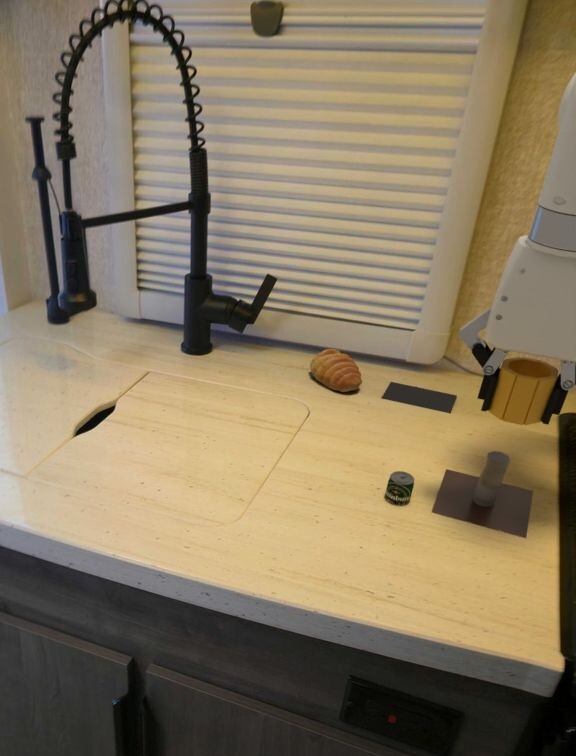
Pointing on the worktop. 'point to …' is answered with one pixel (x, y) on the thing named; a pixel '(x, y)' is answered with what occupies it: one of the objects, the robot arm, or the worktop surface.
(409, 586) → the worktop surface
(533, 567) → the worktop surface
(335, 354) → the pastry
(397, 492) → the beer can
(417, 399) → the mat
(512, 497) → the stand
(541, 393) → the sleeve
